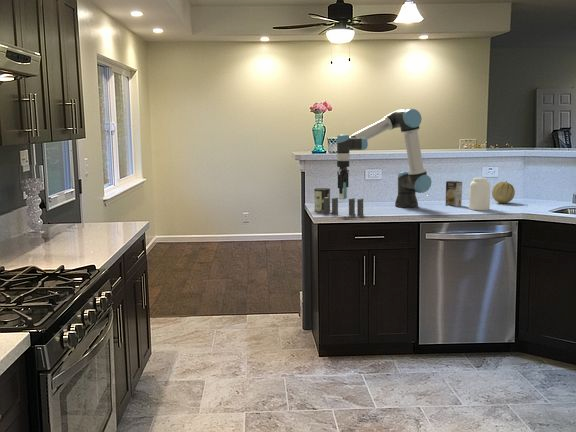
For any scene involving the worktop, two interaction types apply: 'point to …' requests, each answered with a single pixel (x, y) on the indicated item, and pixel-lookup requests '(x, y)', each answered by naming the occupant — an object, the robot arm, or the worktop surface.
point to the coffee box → (453, 193)
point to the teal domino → (344, 189)
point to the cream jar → (479, 194)
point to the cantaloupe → (503, 192)
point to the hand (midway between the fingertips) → (343, 198)
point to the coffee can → (320, 198)
